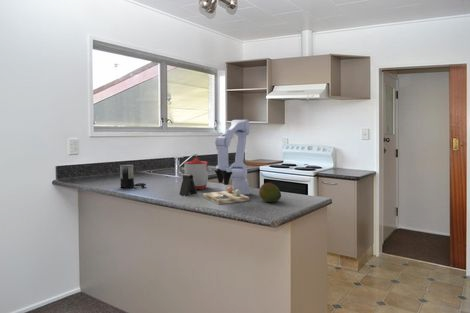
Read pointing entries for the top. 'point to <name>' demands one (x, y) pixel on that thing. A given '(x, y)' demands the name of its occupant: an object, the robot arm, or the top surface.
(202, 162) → the citrus juicer
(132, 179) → the milk frother
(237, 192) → the sage ball
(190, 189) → the door stopper
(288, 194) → the top surface
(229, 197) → the birch plate
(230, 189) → the terracotta ball
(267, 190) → the fruit
